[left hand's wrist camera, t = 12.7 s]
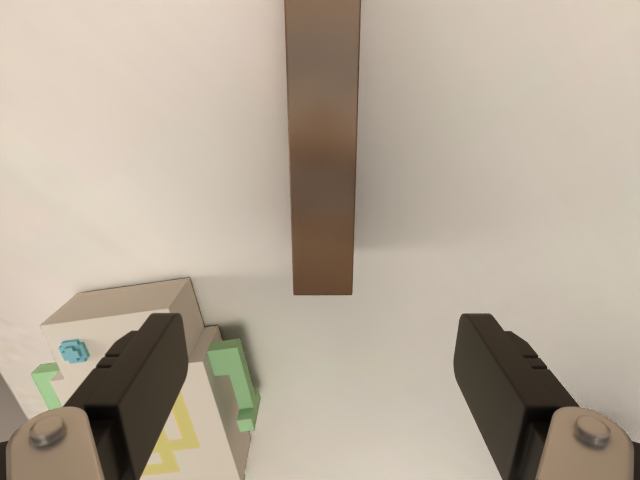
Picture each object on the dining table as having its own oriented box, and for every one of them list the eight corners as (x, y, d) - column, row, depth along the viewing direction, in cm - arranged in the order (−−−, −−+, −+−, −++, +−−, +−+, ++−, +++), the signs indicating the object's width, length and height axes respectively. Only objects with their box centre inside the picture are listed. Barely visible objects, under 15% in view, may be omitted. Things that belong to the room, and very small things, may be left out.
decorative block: (-15, 337, 33) (216, 305, 32) (36, 299, 39) (232, 271, 38) (93, 536, 42) (276, 517, 41) (121, 481, 48) (281, 463, 47)
